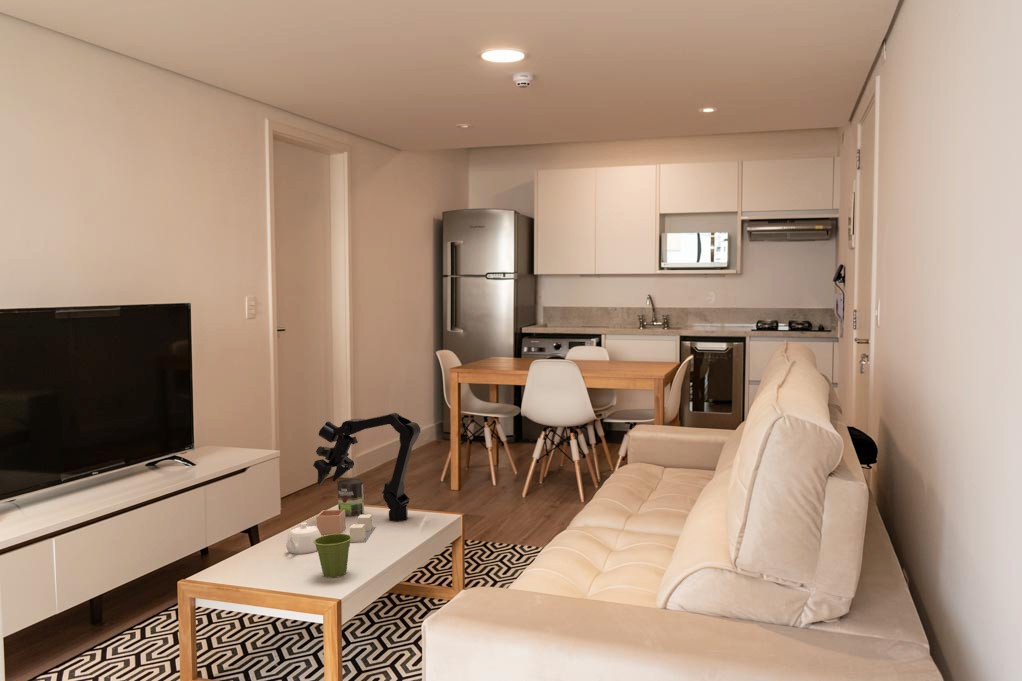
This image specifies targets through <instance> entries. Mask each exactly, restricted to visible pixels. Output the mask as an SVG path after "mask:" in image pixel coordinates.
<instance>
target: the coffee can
mask: <svg viewBox="0 0 1022 681" xmlns="http://www.w3.org/2000/svg"><path fill="white" fill-rule="evenodd" d="M336 484H337V485H336V486H337V501H338V502H337V503H338V504H337V505H338V507H337V508H338V510H345V518H346V517H347V518H348V517H349V518H350V517H356V516H357V517H359V515H365V501H364V499H365V498H364V479H361V478H346V479H341V480H339V481H338V480H337V482H336Z"/></svg>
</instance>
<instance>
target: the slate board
mask: <svg viewBox="0 0 1022 681" xmlns="http://www.w3.org/2000/svg"><path fill="white" fill-rule="evenodd" d="M376 529H377V526H373V528H372V529H371V531H365V539H364V541H363V542H350V544H357V543H358V544H361V543H367V542H368V540H369V539H370V537H371V536H372V534H374V531H375V530H376Z"/></svg>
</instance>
